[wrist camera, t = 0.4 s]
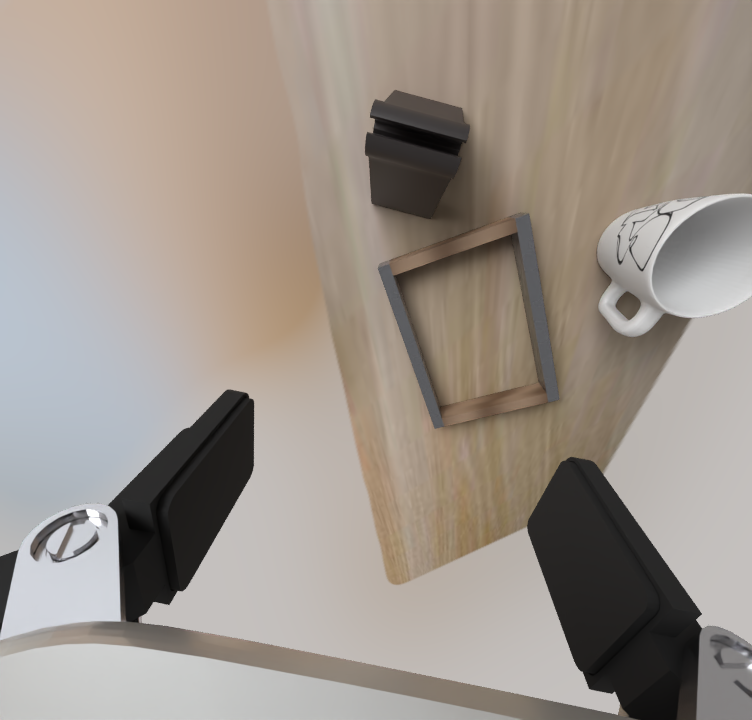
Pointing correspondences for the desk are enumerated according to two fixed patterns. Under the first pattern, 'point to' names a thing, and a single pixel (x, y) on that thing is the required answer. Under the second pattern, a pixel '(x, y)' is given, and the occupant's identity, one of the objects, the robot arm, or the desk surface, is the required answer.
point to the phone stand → (413, 151)
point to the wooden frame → (533, 307)
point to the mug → (678, 260)
